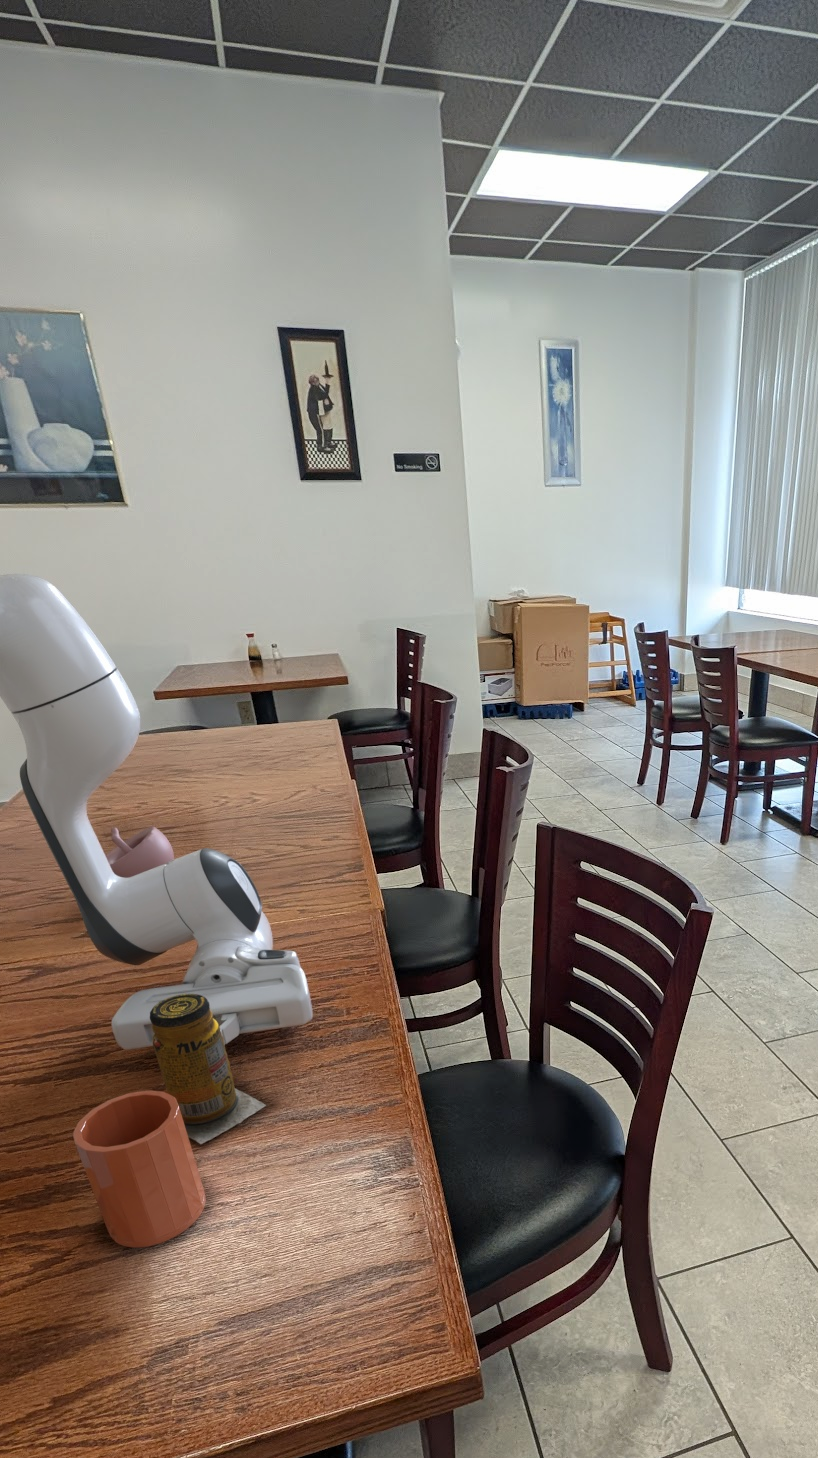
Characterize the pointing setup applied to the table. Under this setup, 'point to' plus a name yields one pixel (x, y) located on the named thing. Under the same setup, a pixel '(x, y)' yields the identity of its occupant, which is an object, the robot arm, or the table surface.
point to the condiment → (197, 1067)
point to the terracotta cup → (141, 1167)
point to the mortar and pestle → (139, 852)
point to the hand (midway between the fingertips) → (205, 1048)
